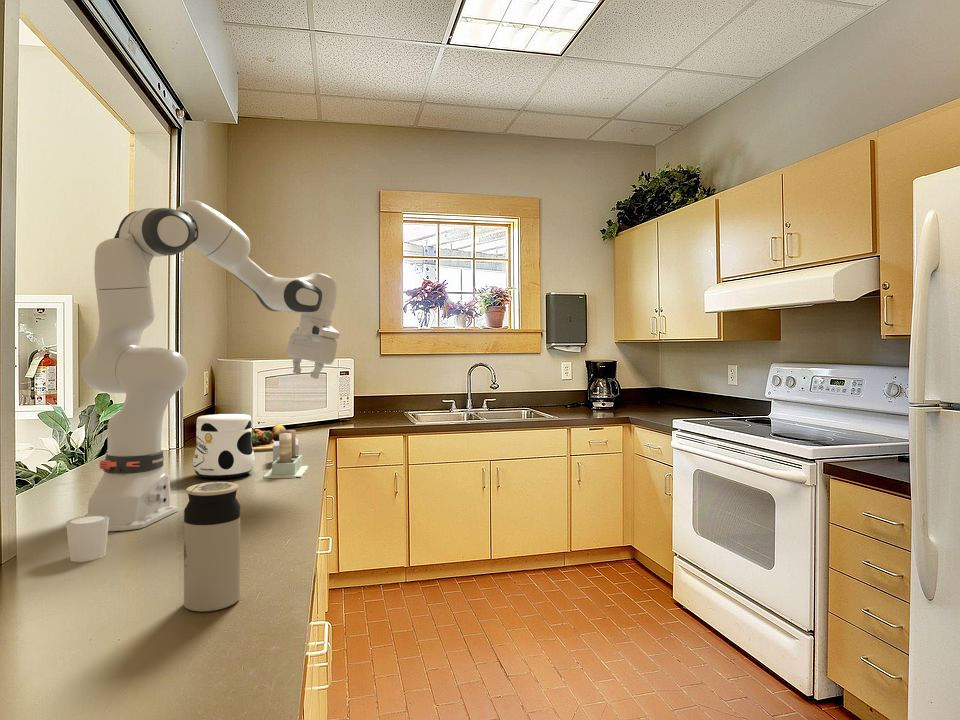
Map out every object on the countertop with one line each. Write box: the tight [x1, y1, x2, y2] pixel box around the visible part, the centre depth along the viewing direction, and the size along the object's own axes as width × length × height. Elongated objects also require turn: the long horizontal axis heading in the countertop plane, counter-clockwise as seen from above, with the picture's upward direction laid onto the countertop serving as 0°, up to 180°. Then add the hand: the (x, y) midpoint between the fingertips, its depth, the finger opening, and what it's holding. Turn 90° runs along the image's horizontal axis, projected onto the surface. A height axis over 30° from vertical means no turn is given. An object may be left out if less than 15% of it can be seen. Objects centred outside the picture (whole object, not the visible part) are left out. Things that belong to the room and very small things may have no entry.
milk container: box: [192, 413, 256, 479], centre depth 189 cm, size 17×17×18 cm
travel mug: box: [183, 481, 241, 613], centre depth 96 cm, size 8×8×18 cm
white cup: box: [65, 515, 109, 563], centre depth 116 cm, size 7×7×7 cm
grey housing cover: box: [272, 439, 300, 463], centre depth 209 cm, size 10×8×7 cm
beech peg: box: [279, 433, 292, 463], centre depth 192 cm, size 4×4×12 cm
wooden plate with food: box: [251, 423, 300, 453], centre depth 246 cm, size 32×32×8 cm
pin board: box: [262, 429, 310, 479], centre depth 195 cm, size 16×11×13 cm
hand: (305, 375), depth 181 cm, fingers open, 8 cm apart
